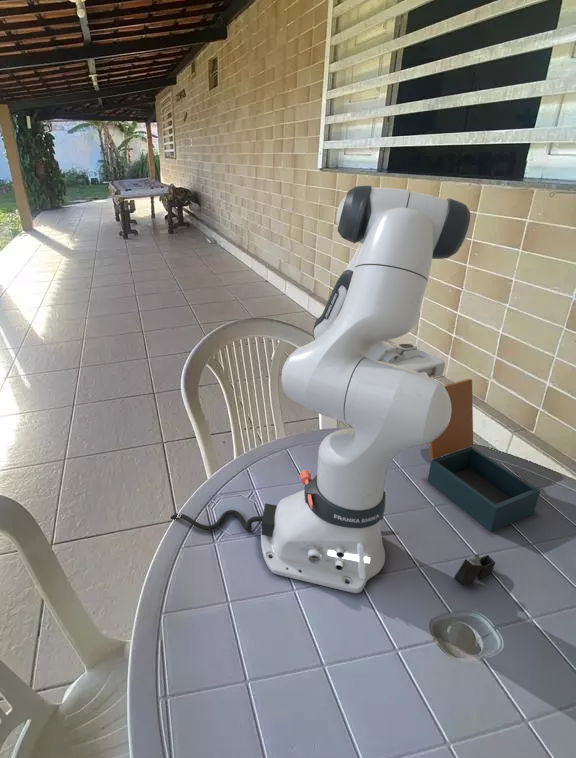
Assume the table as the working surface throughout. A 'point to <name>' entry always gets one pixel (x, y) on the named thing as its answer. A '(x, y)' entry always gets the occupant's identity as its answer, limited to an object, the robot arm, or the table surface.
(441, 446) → the cover
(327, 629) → the table surface
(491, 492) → the black flat slab
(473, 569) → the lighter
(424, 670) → the table surface
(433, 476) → the case
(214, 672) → the table surface
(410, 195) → the robot arm
